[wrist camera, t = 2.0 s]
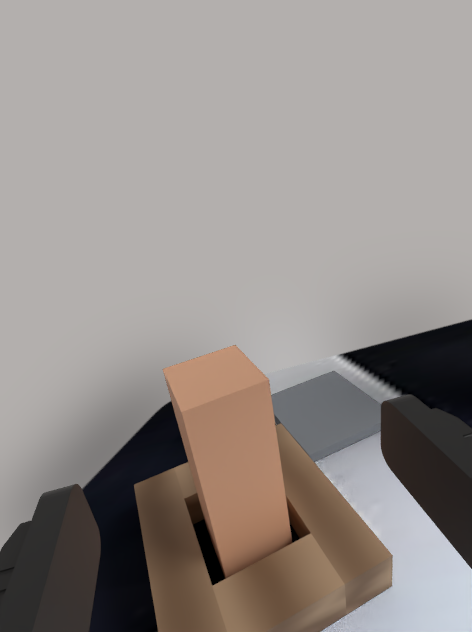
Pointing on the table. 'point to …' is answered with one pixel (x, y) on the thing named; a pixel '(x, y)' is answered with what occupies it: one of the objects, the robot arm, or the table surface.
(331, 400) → the slate pad
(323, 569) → the walnut pocket block
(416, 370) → the table surface
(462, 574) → the table surface
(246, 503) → the terracotta block
